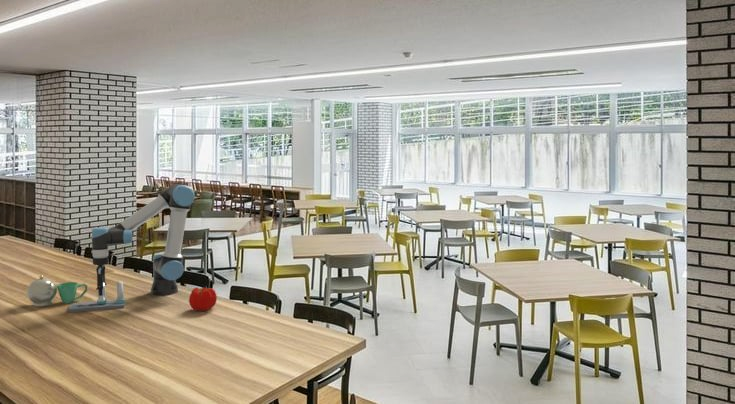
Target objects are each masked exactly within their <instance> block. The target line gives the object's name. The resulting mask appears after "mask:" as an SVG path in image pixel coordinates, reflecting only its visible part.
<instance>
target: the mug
mask: <svg viewBox="0 0 735 404" xmlns="http://www.w3.org/2000/svg"><path fill="white" fill-rule="evenodd" d="M56 287H57V292H58V295H59V298H60V300H61V302H62V303H63V304H72V303H74V301H76V300H78V299H80V298H82V297H83V296H84V295H85V294H86V293H87V291H88V284H86V283H85V282H83V283H82V282H81V283H79V284H78V282H75V281H71V282H69V281H68V282H61V283H59V284H57V285H56ZM80 287H85V288H84V290H83V292H82V293H80V295H77V289H78V288H80ZM76 295H77V296H76Z"/></svg>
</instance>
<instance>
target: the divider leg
mask: <svg viewBox="0 0 735 404" xmlns="http://www.w3.org/2000/svg"><path fill="white" fill-rule="evenodd" d="M103 289H104V301H100V302H98V299H96V302H97V304H106V303H107V301H108V300H107V298H106V297H105V296H106V285H105V283H103Z"/></svg>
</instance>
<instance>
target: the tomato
mask: <svg viewBox="0 0 735 404" xmlns="http://www.w3.org/2000/svg"><path fill="white" fill-rule="evenodd" d="M217 299H218V297H217V293H216V291H215V289H213V288H211V287H209V288H207V287H195V288H193V289H192V291H191V293H190V296H189V298H188V303H189V305H190V307H191V309H193V310H195V311H197V312H199V311H201V312H206V311H208V310H211V309H213V308H214V306H216V303H217Z"/></svg>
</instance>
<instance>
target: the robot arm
mask: <svg viewBox="0 0 735 404" xmlns="http://www.w3.org/2000/svg"><path fill="white" fill-rule="evenodd" d="M195 196H196V195H195V192H194V190H193V189H192V188H191V187H190V186H188V185H186V184H179V183H174V184H172V185H170V186H168V187H167V188H166V189H165V190H163V191H162V192H160V193H159V194H158V195H157V197H156V198H155V199H153V200H152V201H150V202H149V203H147V204H146V205H144V206H143V207H141V208H139V209H138V210H137V211H135V212H134V213H132V214H131V215H130V216H128V217H127V218H126V219H123V220H122V221H121V222H120V223H117V225H115V226H112V227H109V228H107V227H103V226H102V227H101V226H100V227H94V228H92V230H91V247H92V248H91V252H90V253H91V254H92V257H93V258H92V265H94V266H97V267H96V281H97V282H96V284H97V287H96V291H97V300H98V302H100V301H104V289H103V283H105V286H107V282H106V266H105V265H108V264H109V260H110V259H109V246H112V245H127V244H131V243H132V242H133V231H134V230H136V229H137V228H139V227H140V226H142V225H143V224H145V223H146V222H148V221H149V220H151V219H152V218H154V217H155V216H156V215H158V214H159V213H161V212H162V211H163V210H165V209H169V210H170V216H169V223H168V228H167V237H166V241H165V242H166V243H165V249H164V252H163V253H156V254H154V255H152V256H153V258H152V268H153V281H152V284H151V287H150V294H151V295H154V296H167V295H172V294H176V293H178V292H179V287H178V284H177V281H176V280H178V279H179V278H181V277H182V275H183V273H184V265H183V259H184V256H183V255H182V247H183V240H184V236H185V235H184V233H185V230H186V229H185V227H186V222H187V221H186V220H187V216H188V215H187V213H188V212H189V211H191V206H192V204H193V203H194V200H195ZM105 298H106V295H105Z"/></svg>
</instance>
